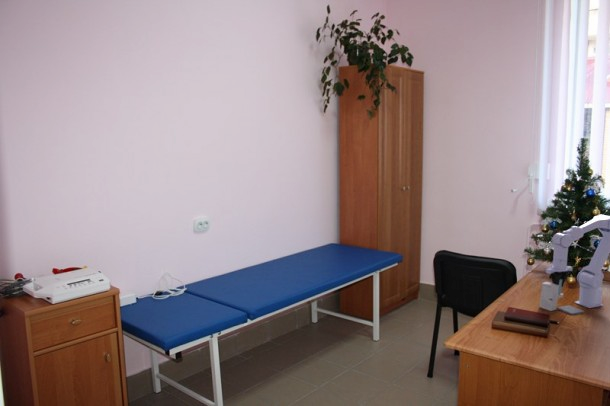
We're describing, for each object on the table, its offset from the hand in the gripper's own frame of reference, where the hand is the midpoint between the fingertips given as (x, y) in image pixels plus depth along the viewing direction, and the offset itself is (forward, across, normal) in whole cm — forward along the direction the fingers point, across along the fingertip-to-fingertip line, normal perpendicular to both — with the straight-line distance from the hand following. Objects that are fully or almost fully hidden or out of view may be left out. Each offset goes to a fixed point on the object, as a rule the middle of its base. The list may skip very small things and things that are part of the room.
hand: (558, 286), depth 219 cm
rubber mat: (+10, -2, +6) cm, 12 cm away
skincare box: (+10, +5, 0) cm, 11 cm away
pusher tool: (+5, 0, 0) cm, 5 cm away
